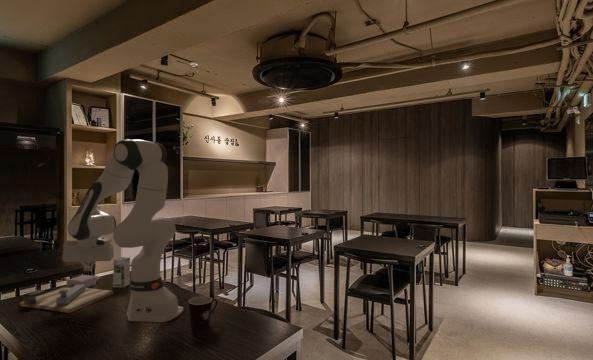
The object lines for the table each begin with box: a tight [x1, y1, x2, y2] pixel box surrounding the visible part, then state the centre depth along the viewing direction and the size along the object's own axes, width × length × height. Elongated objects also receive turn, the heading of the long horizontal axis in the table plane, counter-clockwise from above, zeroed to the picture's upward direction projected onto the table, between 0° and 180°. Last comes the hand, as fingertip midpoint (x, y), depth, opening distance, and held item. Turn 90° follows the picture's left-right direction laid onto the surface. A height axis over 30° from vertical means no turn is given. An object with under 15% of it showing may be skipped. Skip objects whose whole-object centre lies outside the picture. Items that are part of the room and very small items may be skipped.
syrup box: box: [112, 256, 131, 289], centre depth 172 cm, size 6×6×14 cm
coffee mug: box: [188, 295, 218, 332], centre depth 127 cm, size 12×9×10 cm
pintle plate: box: [19, 285, 114, 314], centre depth 152 cm, size 27×24×7 cm
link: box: [56, 284, 86, 305], centre depth 150 cm, size 20×5×2 cm, turn 11°
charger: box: [66, 274, 101, 288], centre depth 173 cm, size 5×9×15 cm
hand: (88, 270), depth 152 cm, fingers closed
